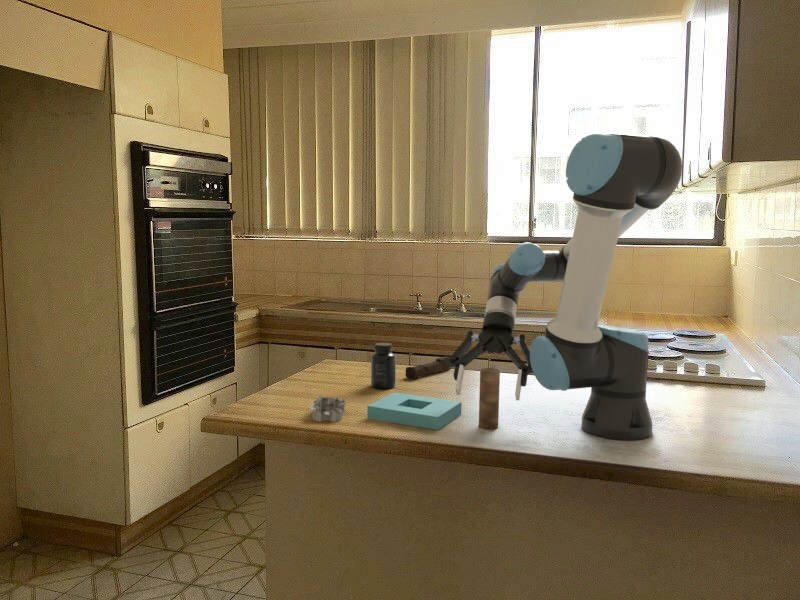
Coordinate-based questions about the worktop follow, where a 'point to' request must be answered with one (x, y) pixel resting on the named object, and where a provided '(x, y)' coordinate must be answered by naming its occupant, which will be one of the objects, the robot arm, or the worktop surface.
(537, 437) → the worktop surface
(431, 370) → the dark brown wooden rod
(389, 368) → the supplement bottle
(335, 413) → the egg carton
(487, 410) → the walnut pin
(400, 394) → the teal square-hole block
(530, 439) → the worktop surface
